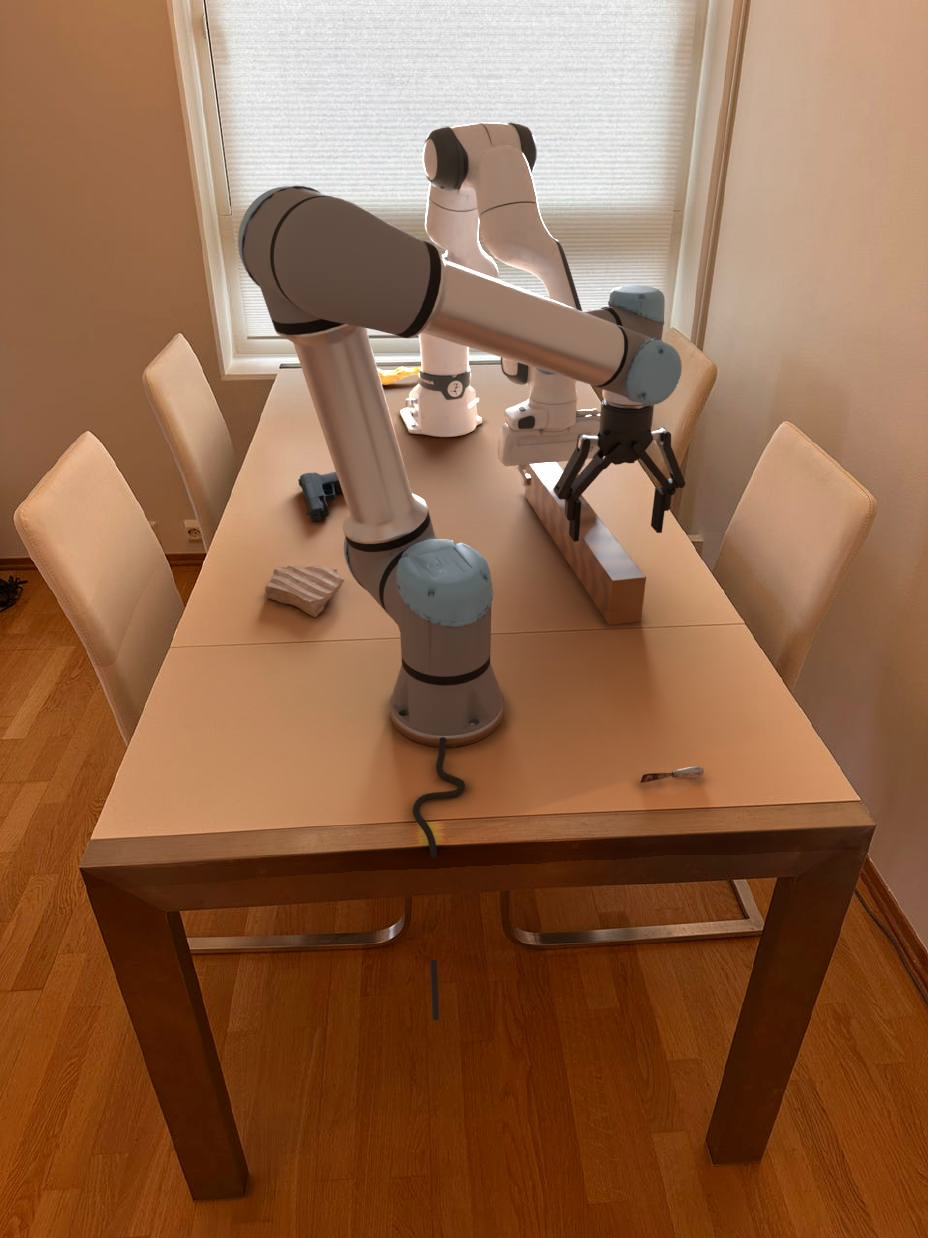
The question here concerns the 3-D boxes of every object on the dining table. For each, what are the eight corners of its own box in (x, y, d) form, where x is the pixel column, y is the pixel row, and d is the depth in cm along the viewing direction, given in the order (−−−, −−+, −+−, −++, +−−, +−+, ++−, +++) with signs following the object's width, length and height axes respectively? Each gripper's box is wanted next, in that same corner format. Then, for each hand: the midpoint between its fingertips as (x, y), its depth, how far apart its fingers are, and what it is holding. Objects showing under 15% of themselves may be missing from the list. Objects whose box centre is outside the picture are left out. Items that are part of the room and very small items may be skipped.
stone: (354, 583, 150) (352, 570, 149) (317, 618, 141) (316, 605, 140) (288, 570, 155) (286, 557, 153) (249, 603, 145) (246, 590, 144)
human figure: (326, 388, 241) (325, 373, 239) (370, 367, 255) (369, 353, 253) (385, 401, 233) (384, 386, 231) (427, 379, 247) (427, 365, 245)
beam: (641, 621, 140) (646, 577, 136) (608, 625, 140) (612, 580, 135) (550, 493, 182) (552, 457, 178) (524, 496, 181) (525, 459, 177)
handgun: (369, 516, 174) (308, 523, 171) (354, 480, 188) (297, 486, 185) (368, 501, 172) (306, 508, 169) (353, 466, 186) (295, 472, 183)
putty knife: (703, 777, 109) (705, 767, 109) (642, 788, 108) (644, 777, 107) (700, 772, 110) (702, 762, 109) (639, 782, 109) (640, 771, 108)
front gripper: (697, 386, 133) (680, 515, 145) (537, 398, 129) (531, 530, 140) (720, 402, 127) (699, 536, 138) (551, 415, 123) (545, 552, 134)
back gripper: (600, 403, 169) (595, 471, 176) (495, 411, 166) (495, 481, 173) (611, 413, 164) (606, 483, 171) (503, 422, 161) (503, 493, 168)
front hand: (615, 533), depth 139 cm, fingers open, 13 cm apart
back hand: (549, 482), depth 172 cm, fingers open, 8 cm apart
